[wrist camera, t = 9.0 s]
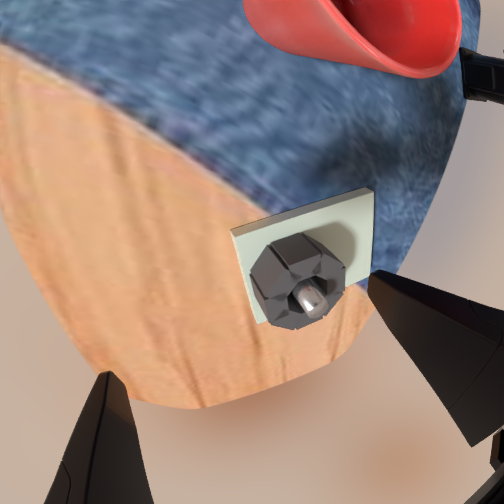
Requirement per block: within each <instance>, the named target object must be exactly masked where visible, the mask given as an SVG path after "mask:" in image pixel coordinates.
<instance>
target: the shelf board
mask: <svg viewBox="0 0 504 504" xmlns="http://www.w3.org/2000/svg"><path fill="white" fill-rule="evenodd" d="M373 214H374V192H373V191H371V190H369V189H367V188H366V187H364V188H361V189H357V190H354V191H351V192H347V193H344V194H341V195H337V196H334V197H331V198H328V199H324V200H321V201H318V202H315V203H311V204H308V205H305V206H302V207H299V208H296V209H293V210H289V211H286V212H283V213H280V214H277V215H274V216H271V217H268V218H265V219H262V220H259V221H256V222H253V223H250V224H247V225H244V226H241V227H238V228H235V229H232V230H230V231H231V235H232V239H233V243H234V247H235V250H236V254H237V258H238V262H239V265H240V269H241V273H242V276H243V280H244V284H245V287H246V291H247V295H248V298H249V302H250V306H251V309H252V313H253V316H254V318H255V320H256V322H257V324H260V323H262V322H265V321H267V318H266V316H265V315H264V313H263V311H262V309H261V307H260V305H259V303H258V302H257V300H256V298H255V296H254V292H253V288H252V284H251V280H250V276H249V274H250V273H251V272H250V269H251V268H252V266H253V265H254V263H255V262H256V260H257V259H258V257H259V256H260V254H261V253H262V251H263V250H264V248H265V247H266V245H268V246H270V247H271V244H270V242H273V241H275V240H278V239H281V238H284V237H287V236H290V235H293V234H296V233H300V234H302V233H304V234H306V235H308V236H309V237H311V238H313V239H315V240H316V241H318V242H320V243H322V244H323V245H324V246H325V247H326V248H327V249H328V250H329V251H330V252H332V253H333V254H334V255H335V256H336V257H337V258H338V259H339V260H340V261H341V262H342V263H343V264H344V266H345V267H346V277H345V287H347V286H349V285H351V284H353V283H356V282H358V281H360V280H362V279H364V278H366V277H368V276H369V275H370V265H371V252H372V237H373Z"/></svg>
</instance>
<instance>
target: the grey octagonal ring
mask: <svg viewBox="0 0 504 504" xmlns="http://www.w3.org/2000/svg"><path fill="white" fill-rule="evenodd" d="M270 244H271V247H270V246H268V245H266V247H265V248H264V250H263V251H262V253H261V254H260V256H259V257H258V259H257V260H256V262H255V263H254V265H253V266H252V268H251V269H250V272H251V273H250V274H249V276H250V280H251V284H252V288H253V292H254V296H255V298H256V300H257V302H258V303H259V305H260V307H261V309H262V311H263V313H264V315H265V316H266V318H267V320H268V322H269V323H270V324H271V325H274V326H278V327H282V328H286V329H290V330H294V329H295V328H296V329H297V330H298V329H300V328H302V327H305V326H307V325H309V324H311V323H314V322H316V321H318V320H320V319H322V318H323V315H324V316H326V315H327V314H328V313H329V312H330V310H331V309H332V308H333V307H334V305H335V304H336V303H337V302H338V300H339V299H340V298H341V296H342V295H343V293H342V292H343V291H345V277H346V267H345V266H344V264H343V263H342V262H341V261H340V260H339V259H338V258H337V257H336V256H335V255H334V254H333V253H332V252H330V251H329V250H328V249H327V248H326V247H325V246H324V245H323V244H322V243H320V242H318V241H316V240H315V239H313V238H311V237H309V236H308V235H306V234H304V233H302V234H300V233H296V234H293V235H290V236H287V237H284V238H281V239H278V240H275V241H273V242H270ZM307 278H308V279H309V280H310V281H311V282H312V284H313V285H314V286H315V287H316V288H317V290H318V291H319V292H320V293H321V295H322V296H323V297H324V298H325V299H326V301H327V302H328V309H327V311H326V312H325V313H324V314H323V315H322V316H320V317H318V318H310V317H309V316H308V315H307V313H306V312H305V311H304V309H303V308H302V306H301V305H300V304H299V302H298V301H297V299H296V298H295V296H294V295H293V294H292V292H291V291H292V290H293V288H294V287H295V286H296V284H297V283H298V282H299V281H302V280H304V279H307Z"/></svg>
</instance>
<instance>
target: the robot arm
mask: <svg viewBox="0 0 504 504" xmlns="http://www.w3.org/2000/svg"><path fill="white" fill-rule="evenodd" d="M459 50H460V57H461V65H462V75H463V88H464V97H465V99H468V100H476V101H484V102H486V101H487V100H489V101H493V102H496V103H500V104H503V105H504V59H501V58H495V57H489V56H483V55H481V54H478V53H476V52H474V51H471V50H469V49H466V48H464V47H460V49H459ZM367 292H368V296H369V298H370V300H371V301H372V303H373V304H374V306H375V307H376V309H377V311H378V312H379V314H380V315H381V317H382V319H383V320H384V322H385V324H386V325H387V327H388V328H389V330H390V331H391V332H392V334H393V335H394V336H395V338H396V339H397V340H398V342H399V343H400V344H401V346H402V347H403V348H404V350H405V351H406V352H407V354H408V355H409V356H410V358H411V359H412V361H413V362H414V363H415V365H416V366H417V367H418V369H419V370H420V372H421V373H422V374H423V376H424V377H425V378H426V380H427V381H428V383H429V384H430V386H431V387H432V389H433V390H434V391H435V393H436V394H437V396H438V397H439V399H440V400H441V402H442V403H443V405H444V406H445V408H446V409H447V410H448V412H449V414H450V415H451V417H452V418H453V420H454V421H455V423H456V424H457V426H458V428H459V429H460V431H461V432H462V434H463V435H464V437H465V439H466V440H467V442H468V444H469V445H470V446H471V447H473V446H475V445H476V444H478V443H479V442H481V441H482V440H484V439H485V438H487V437H488V436H490V435H491V434H492V433H494V432H495V431H496V430H498V429H499V428H500V429H499V430H498V431H497V432H496V433H495V434H494V436H493V441H492V450H491V457H490V464H491V465H492V467H493V468H494V470H495V473H494V474H493V475H492V476H491V477H490V478H489V479H488V480H487V481H486V482H485V483H484V484H483V485H482V486H481V487H480V489H478V490H477V492H475V493H474V494H473V495H472V496H471V497H470V498H469V499H468V500H467V501H466V502H465V503H464V504H504V311H503V310H499V309H496V308H492V307H489V306H486V305H483V304H480V303H477V302H474V301H471V300H467V299H466V298H463V297H460V296H457V295H454V294H452V293H449V292H446V291H443V290H440V289H437V288H434V287H431V286H429V285H425V284H423V283H420V282H417V281H414V280H411V279H408V278H405V277H402V276H399V275H396V274H393V273H390V272H387V271H384V270H380V269H379V270H376V271H374V272H372V273H370V275H369V280H368V289H367ZM44 504H154V502H153V499H152V495H151V491H150V488H149V484H148V480H147V476H146V472H145V468H144V463H143V459H142V454H141V449H140V445H139V439H138V434H137V429H136V425H135V421H134V418H133V414H132V411H131V407H130V403H129V398H128V394H127V390H126V387H125V385H124V384H123V382H122V381H121V380H120V379H119V378H118V377H117V376H116V375H115V374H114V373H113V372H112V371H105V372H102V373H100V374H99V375H98V377H97V379H96V381H95V383H94V386H93V388H92V390H91V392H90V394H89V396H88V398H87V400H86V403H85V405H84V407H83V409H82V411H81V414H80V416H79V418H78V421H77V423H76V425H75V428H74V430H73V433H72V435H71V437H70V440H69V442H68V445H67V447H66V450H65V452H64V455H63V458H62V461H61V463H60V465H59V468H58V471H57V474H56V476H55V479H54V481H53V484H52V486H51V488H50V491H49V493H48V495H47V498H46V500H45V502H44Z"/></svg>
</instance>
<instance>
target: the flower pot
mask: <svg viewBox="0 0 504 504" xmlns="http://www.w3.org/2000/svg"><path fill="white" fill-rule="evenodd" d="M243 7H244V12H245V14H246V17H247V19H248V21H249V23H250V25H251V26H252V27H253V29H254V30H255V31H256V32H257V33H258V34H259V35H260V36H261V38H263V39H264V40H265V41H266V42H268V43H269V44H271V45H272V46H274V47H276V48H278V49H280V50H282V51H284V52H287V53H290V54H294V55H299V56H306V57H312V58H317V59H323V60H329V61H334V62H340V63H346V64H351V65H356V66H361V67H366V68H370V69H375V70H379V71H384V72H388V73H392V74H397V75H401V76H405V77H411V78H417V79H421V78H430V77H434V76H437V75H439V74H440V73H442V72H443V71H445V70H446V69H447V68H448V67H449V66H450V64H451V63H452V62H453V60H454V58H455V57H456V54H457V52H458V49H459V46H460V40H461V33H462V18H461V11H460V6H459V2H458V0H243Z"/></svg>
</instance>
